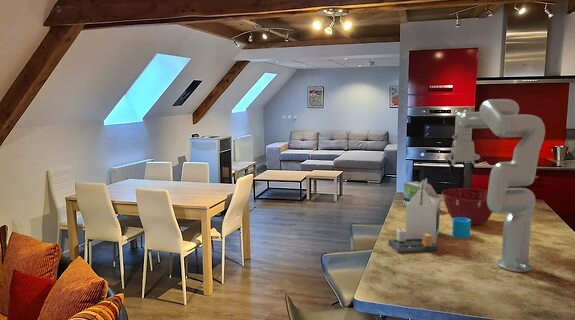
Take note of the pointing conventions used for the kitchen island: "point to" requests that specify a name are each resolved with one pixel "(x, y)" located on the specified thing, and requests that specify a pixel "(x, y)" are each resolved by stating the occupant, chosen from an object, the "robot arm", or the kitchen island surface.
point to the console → (411, 246)
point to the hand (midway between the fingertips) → (461, 173)
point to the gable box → (423, 213)
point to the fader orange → (427, 239)
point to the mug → (461, 227)
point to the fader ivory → (400, 235)
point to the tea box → (410, 191)
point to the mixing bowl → (467, 204)
